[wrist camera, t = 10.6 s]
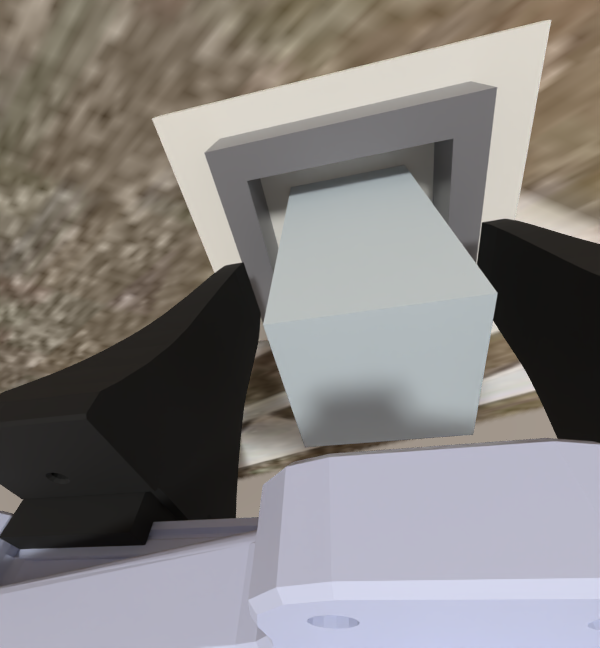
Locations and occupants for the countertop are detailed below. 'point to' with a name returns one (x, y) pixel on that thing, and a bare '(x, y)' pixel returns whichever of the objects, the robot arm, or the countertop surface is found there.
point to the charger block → (376, 313)
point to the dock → (362, 143)
